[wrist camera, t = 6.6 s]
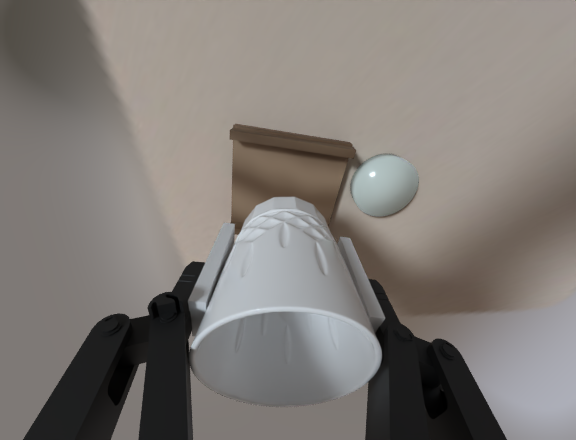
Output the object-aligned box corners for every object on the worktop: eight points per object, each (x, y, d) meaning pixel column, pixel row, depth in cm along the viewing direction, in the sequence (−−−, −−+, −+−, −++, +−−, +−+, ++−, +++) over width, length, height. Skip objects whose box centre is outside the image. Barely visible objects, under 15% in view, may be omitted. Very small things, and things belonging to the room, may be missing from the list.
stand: (235, 123, 22) (229, 127, 20) (349, 142, 23) (356, 148, 21) (233, 222, 28) (228, 234, 26) (323, 233, 29) (326, 246, 27)
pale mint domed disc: (360, 148, 24) (366, 153, 22) (420, 158, 24) (430, 163, 22) (342, 204, 27) (346, 212, 25) (394, 211, 28) (402, 219, 26)
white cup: (310, 169, 15) (345, 277, 6) (347, 249, 18) (401, 386, 10) (216, 214, 17) (142, 348, 8) (267, 279, 20) (254, 418, 12)
